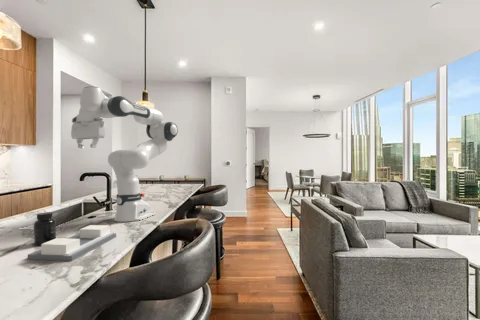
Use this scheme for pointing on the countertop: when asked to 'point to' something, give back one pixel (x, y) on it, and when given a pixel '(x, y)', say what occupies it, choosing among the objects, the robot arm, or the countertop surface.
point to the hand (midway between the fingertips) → (86, 148)
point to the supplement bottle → (44, 228)
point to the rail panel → (82, 241)
